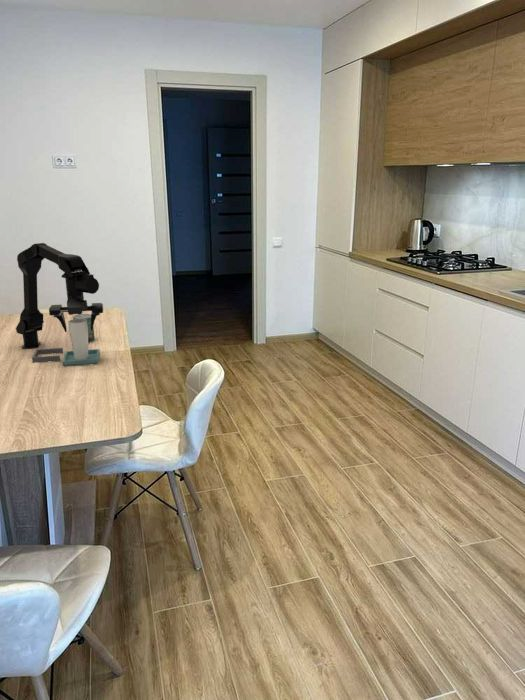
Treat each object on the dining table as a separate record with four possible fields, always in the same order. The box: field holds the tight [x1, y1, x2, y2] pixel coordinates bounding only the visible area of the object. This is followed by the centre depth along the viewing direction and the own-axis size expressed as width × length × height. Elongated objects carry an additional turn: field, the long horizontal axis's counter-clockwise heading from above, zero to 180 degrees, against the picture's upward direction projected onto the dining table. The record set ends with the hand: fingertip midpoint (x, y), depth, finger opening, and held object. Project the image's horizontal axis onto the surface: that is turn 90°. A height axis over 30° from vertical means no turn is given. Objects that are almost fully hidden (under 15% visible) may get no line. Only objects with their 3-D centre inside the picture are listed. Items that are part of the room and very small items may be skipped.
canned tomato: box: [72, 313, 96, 344], centre depth 221 cm, size 8×8×11 cm
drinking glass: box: [68, 318, 89, 360], centre depth 196 cm, size 7×7×15 cm
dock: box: [31, 347, 64, 364], centre depth 201 cm, size 11×10×2 cm
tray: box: [61, 348, 101, 367], centre depth 198 cm, size 13×13×2 cm
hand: (78, 331), depth 195 cm, fingers open, 9 cm apart
